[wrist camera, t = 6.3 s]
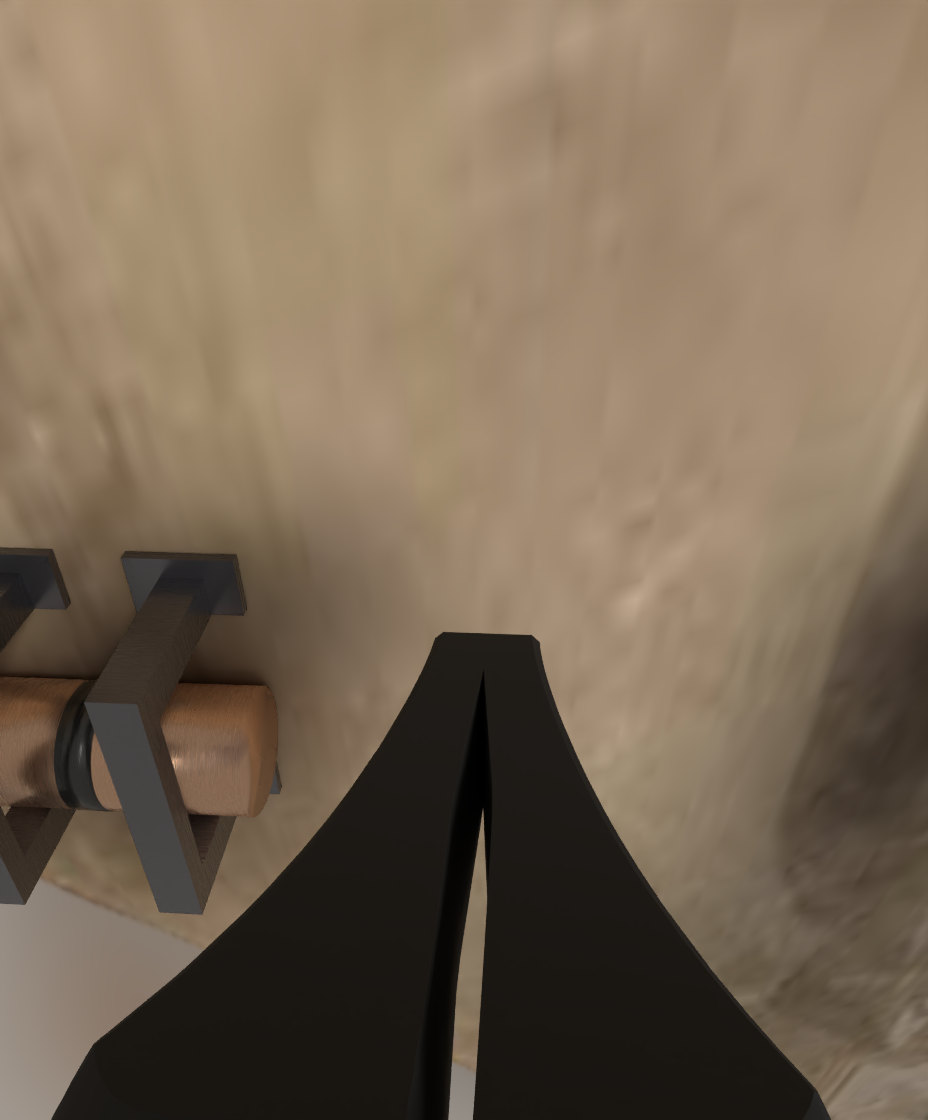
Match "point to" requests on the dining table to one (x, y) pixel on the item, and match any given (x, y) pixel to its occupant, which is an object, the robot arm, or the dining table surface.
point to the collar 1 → (3, 605)
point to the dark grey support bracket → (137, 706)
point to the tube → (189, 729)
